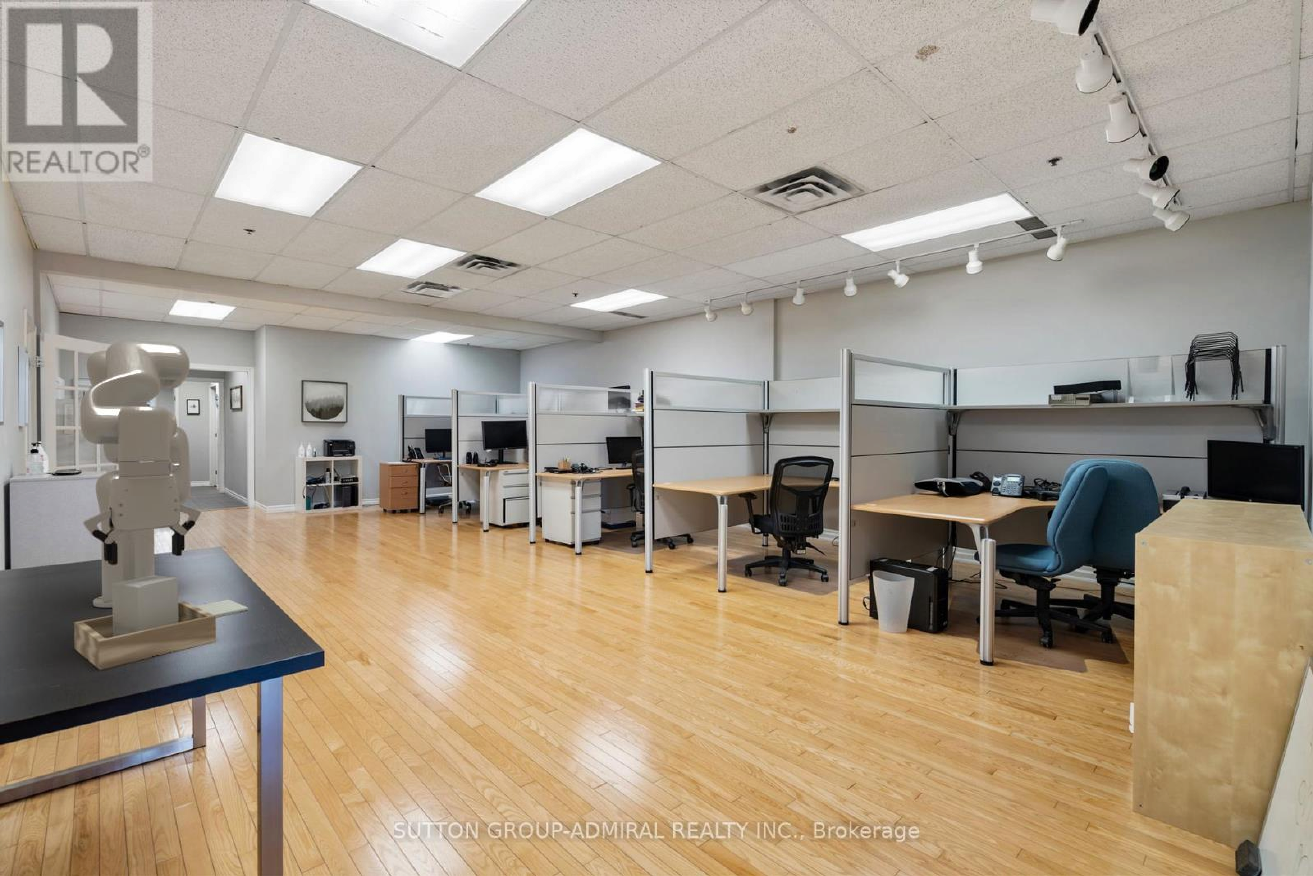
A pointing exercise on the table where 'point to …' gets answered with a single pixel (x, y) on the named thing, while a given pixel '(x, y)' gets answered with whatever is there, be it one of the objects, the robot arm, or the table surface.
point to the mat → (222, 607)
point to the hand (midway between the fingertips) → (145, 559)
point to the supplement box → (144, 604)
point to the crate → (142, 638)
